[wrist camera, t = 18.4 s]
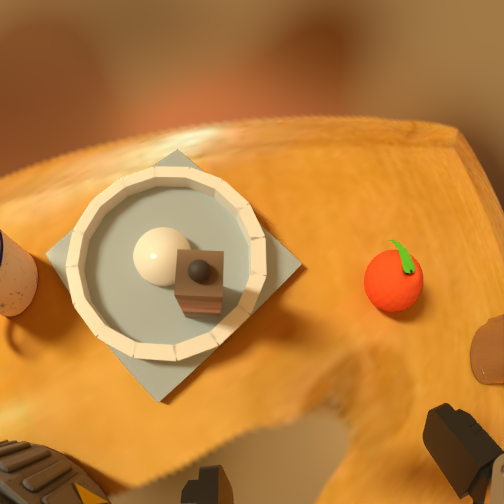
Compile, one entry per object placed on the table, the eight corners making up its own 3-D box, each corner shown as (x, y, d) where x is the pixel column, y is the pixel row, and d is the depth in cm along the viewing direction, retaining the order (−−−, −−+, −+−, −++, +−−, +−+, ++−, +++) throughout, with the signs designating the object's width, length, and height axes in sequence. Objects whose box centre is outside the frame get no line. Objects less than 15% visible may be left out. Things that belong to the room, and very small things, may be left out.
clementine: (345, 257, 35) (372, 232, 29) (390, 250, 37) (421, 227, 30) (362, 323, 33) (395, 310, 26) (407, 310, 34) (443, 296, 27)
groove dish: (178, 153, 38) (176, 138, 35) (299, 266, 34) (307, 257, 31) (49, 256, 30) (37, 247, 28) (159, 401, 27) (154, 405, 24)
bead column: (186, 284, 31) (175, 242, 21) (219, 285, 31) (224, 244, 21) (185, 317, 30) (172, 290, 20) (219, 318, 30) (223, 292, 20)
